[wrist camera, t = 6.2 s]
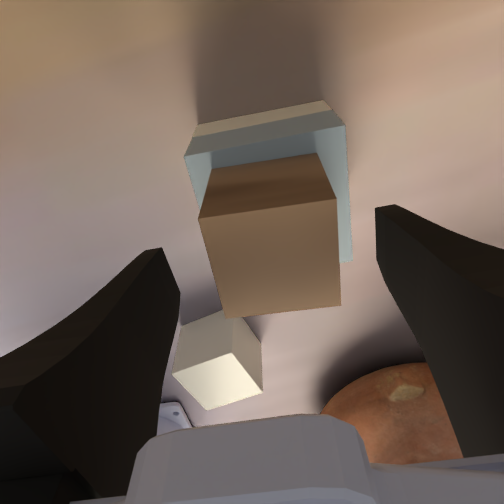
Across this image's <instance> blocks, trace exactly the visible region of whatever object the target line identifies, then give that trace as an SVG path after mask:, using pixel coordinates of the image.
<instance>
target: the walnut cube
mask: <svg viewBox="0 0 504 504" xmlns="http://www.w3.org/2000/svg"><path fill="white" fill-rule="evenodd" d="M198 221H199V224H200V228H201V232H202V235H203V239H204V243H205V246H206V250H207V253H208V257H209V261H210V264H211V268H212V272H213V275H214V279H215V283H216V286H217V290H218V293H219V297H220V301H221V304H222V308H223V312H224V315H225V319H229V318H238V317H246V316H255V315H264V314H272V313H281V312H289V311H298V310H307V309H315V308H324V307H332V306H341V288H340V264H339V239H338V214H337V198H336V196H335V193H334V191H333V189H332V186H331V184H330V182H329V179H328V177H327V175H326V173H325V170H324V168H323V166H322V163H321V161H320V159H319V156H318V154H317V153H311V154H305V155H298V156H292V157H285V158H279V159H273V160H266V161H260V162H253V163H247V164H240V165H234V166H228V167H221V168H215V169H211V173H210V176H209V180H208V184H207V187H206V191H205V195H204V198H203V202H202V206H201V209H200V213H199V217H198Z"/></svg>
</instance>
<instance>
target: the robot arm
mask: <svg viewBox="0 0 504 504" xmlns="http://www.w3.org/2000/svg"><path fill="white" fill-rule="evenodd" d="M375 225H376V258H377V262H378V265H379V268H380V270H381V273H382V276H383V278H384V281H385V283H386V285H387V287H388V289H389V291H390V293H391V294H392V296H393V298H394V300H395V302H396V303H397V305H398V307H399V309H400V311H401V312H402V314H403V316H404V318H405V319H406V321H407V323H408V325H409V326H410V328H411V330H412V332H413V334H414V335H415V337H416V339H417V341H418V343H419V345H420V347H421V349H422V352H423V354H424V357H425V359H426V361H427V364H428V366H429V368H430V371H431V373H432V376H433V378H434V381H435V383H436V386H437V388H438V391H439V393H440V396H441V398H442V401H443V403H444V406H445V409H446V411H447V414H448V417H449V419H450V422H451V425H452V427H453V430H454V433H455V435H456V438H457V441H458V444H459V446H460V449H461V452H462V455H463V458H459V459H450V460H441V461H432V462H423V463H414V464H405V465H397V464H383V463H369V459H368V456H367V452H366V448H365V444H364V441H363V439H362V438H361V436H360V434H359V433H358V431H357V430H356V428H355V426H353V425H351V424H349V423H347V422H344V421H342V420H340V419H337V418H335V417H332V416H330V415H328V414H294V415H286V416H278V417H271V418H263V419H255V420H247V421H240V422H232V423H224V424H217V425H209V426H201V427H193V428H192V426H191V424H190V422H189V420H188V418H187V416H186V414H185V412H184V410H183V408H182V406H181V405H180V404H179V403H178V402H169V403H162V404H160V401H161V393H162V385H163V380H164V375H165V371H166V367H167V363H168V358H169V354H170V350H171V346H172V342H173V338H174V334H175V330H176V326H177V321H178V316H179V306H180V291H179V288H178V286H177V283H176V281H175V278H174V276H173V273H172V271H171V269H170V266H169V264H168V261H167V259H166V256H165V254H164V251H163V249H162V247H161V248H156V249H150V250H145V251H144V252H142V253H141V254H140V255H139V256H137V257H136V258H135V259H134V260H133V261H132V262H131V263H130V264H128V265H127V266H126V267H125V268H124V269H123V270H122V271H121V272H120V273H119V274H118V275H117V276H116V277H114V278H113V279H112V280H111V281H110V282H109V283H108V284H107V285H106V286H105V287H103V288H102V289H101V290H100V291H99V292H98V293H96V294H95V295H94V296H93V297H92V298H91V299H89V300H88V301H87V302H86V303H85V304H83V305H82V306H81V307H80V308H78V309H77V310H76V311H74V312H73V313H72V314H70V315H69V316H67V317H66V318H65V319H63V320H62V321H61V322H59V323H58V324H56V325H55V326H53V327H52V328H50V329H48V330H47V331H45V332H44V333H42V334H40V335H39V336H37V337H36V338H34V339H32V340H31V341H29V342H28V343H26V344H24V345H23V346H21V347H19V348H17V349H15V350H14V351H12V352H10V353H8V354H6V355H4V356H2V357H0V504H504V249H500V248H497V247H494V246H491V245H488V244H484V243H481V242H478V241H476V240H473V239H470V238H468V237H465V236H463V235H460V234H458V233H455V232H453V231H450V230H448V229H446V228H444V227H441V226H439V225H437V224H435V223H433V222H431V221H429V220H427V219H424V218H422V217H420V216H418V215H416V214H414V213H412V212H410V211H408V210H406V209H404V208H402V207H400V206H398V205H395V204H393V205H388V206H382V207H377V208H375Z"/></svg>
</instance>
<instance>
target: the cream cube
mask: <svg viewBox="0 0 504 504" xmlns="http://www.w3.org/2000/svg"><path fill="white" fill-rule="evenodd" d="M171 374H172V375H173V376H174V377H175V378H176V379H177V380H178V382H179V383H180V384H181V385H182V386H183V387H184V388H185V389H186V390H187V391H188V392H189V393H190V394H191V395H192V396H193V397H194V398H195V399H196V400H197V401H198V402H199V404H200V405H201V406H202V407H203V408H204V409H205V410H206V411H207V410H210V409H213V408H216V407H219V406H222V405H226V404H229V403H232V402H235V401H238V400H241V399H244V398H247V397H251V396H254V395H257V394H260V393H263V384H262V355H261V343H260V342H259V340H258V339H257V338H256V336H255V335H254V333H253V332H252V330H251V329H250V328H249V326H248V325H247V323H246V322H245V320H244V319H243V318H242V317H238V318H229V319H225V315H224V312H223V310H221V311H219V312H216V313H214V314H211V315H208V316H206V317H203V318H201V319H198V320H196V321H193V322H191V323H188V324H185V325H183V326H182V327H181V331H180V336H179V341H178V345H177V350H176V355H175V359H174V364H173V368H172V373H171Z"/></svg>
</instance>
